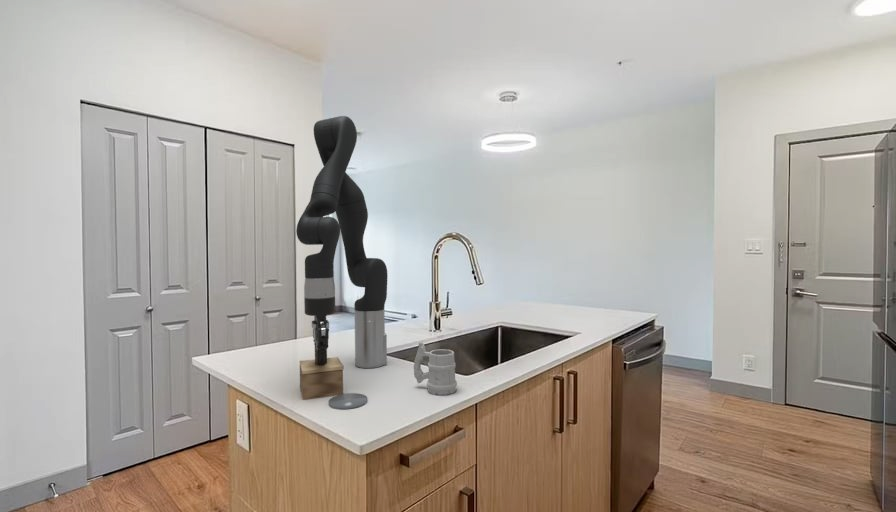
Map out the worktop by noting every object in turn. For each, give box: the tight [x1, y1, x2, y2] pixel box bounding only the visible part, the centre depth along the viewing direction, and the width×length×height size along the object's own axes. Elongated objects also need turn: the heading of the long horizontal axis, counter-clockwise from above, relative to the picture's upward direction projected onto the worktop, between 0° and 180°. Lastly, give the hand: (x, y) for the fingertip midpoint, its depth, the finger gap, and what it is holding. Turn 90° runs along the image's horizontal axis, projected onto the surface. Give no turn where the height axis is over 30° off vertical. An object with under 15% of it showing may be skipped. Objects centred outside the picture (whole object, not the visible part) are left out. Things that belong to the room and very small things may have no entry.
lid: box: [299, 345, 345, 374], centre depth 110 cm, size 10×10×6 cm
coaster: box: [328, 392, 368, 410], centre depth 102 cm, size 9×9×1 cm
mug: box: [413, 341, 458, 396], centre depth 110 cm, size 8×12×12 cm, turn 68°
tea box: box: [299, 366, 344, 401], centre depth 110 cm, size 10×10×6 cm
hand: (321, 362), depth 110 cm, fingers closed on lid, 3 cm apart
